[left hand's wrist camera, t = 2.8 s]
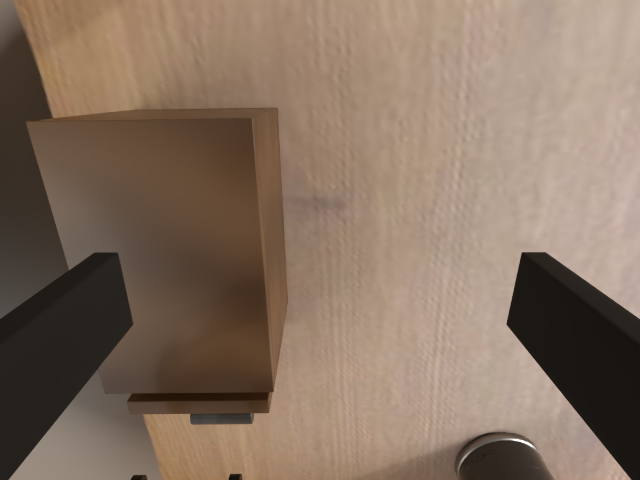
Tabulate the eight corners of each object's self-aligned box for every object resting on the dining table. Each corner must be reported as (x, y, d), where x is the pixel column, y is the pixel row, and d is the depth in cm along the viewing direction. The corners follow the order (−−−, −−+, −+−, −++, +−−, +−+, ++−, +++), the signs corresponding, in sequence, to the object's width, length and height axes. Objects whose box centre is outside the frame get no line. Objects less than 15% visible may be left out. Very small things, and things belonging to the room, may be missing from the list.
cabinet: (287, 301, 36) (273, 392, 25) (169, 303, 36) (104, 393, 25) (277, 107, 29) (252, 117, 18) (133, 109, 29) (24, 121, 19)
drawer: (285, 381, 38) (274, 469, 29) (185, 382, 38) (144, 470, 29) (271, 164, 30) (250, 195, 21) (145, 166, 30) (71, 197, 21)
